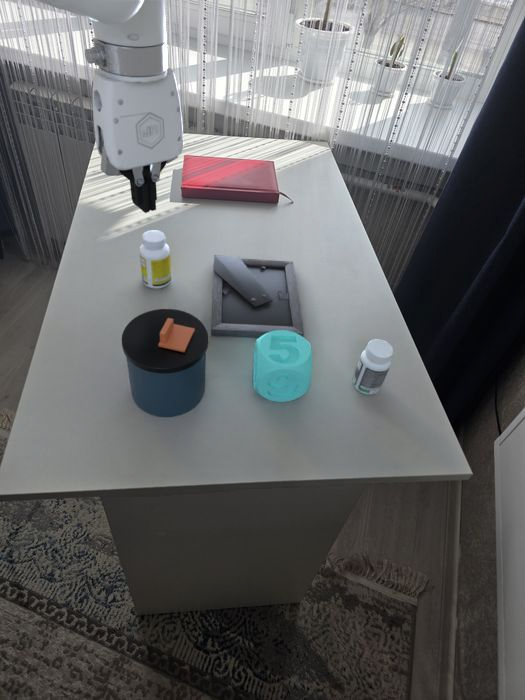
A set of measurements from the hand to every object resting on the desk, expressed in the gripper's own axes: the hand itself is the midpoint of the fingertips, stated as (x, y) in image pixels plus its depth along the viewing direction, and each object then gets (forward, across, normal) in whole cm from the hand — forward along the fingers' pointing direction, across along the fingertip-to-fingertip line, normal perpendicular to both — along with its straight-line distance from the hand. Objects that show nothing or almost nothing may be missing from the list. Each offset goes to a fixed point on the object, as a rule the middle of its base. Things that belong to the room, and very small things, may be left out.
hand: (145, 206), depth 65 cm
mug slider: (+11, -5, -15) cm, 19 cm away
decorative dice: (+22, +8, -23) cm, 33 cm away
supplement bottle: (+22, +7, +10) cm, 25 cm away
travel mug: (+22, -6, -13) cm, 27 cm away
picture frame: (+22, +19, -5) cm, 30 cm away
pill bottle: (+22, +20, -32) cm, 43 cm away
